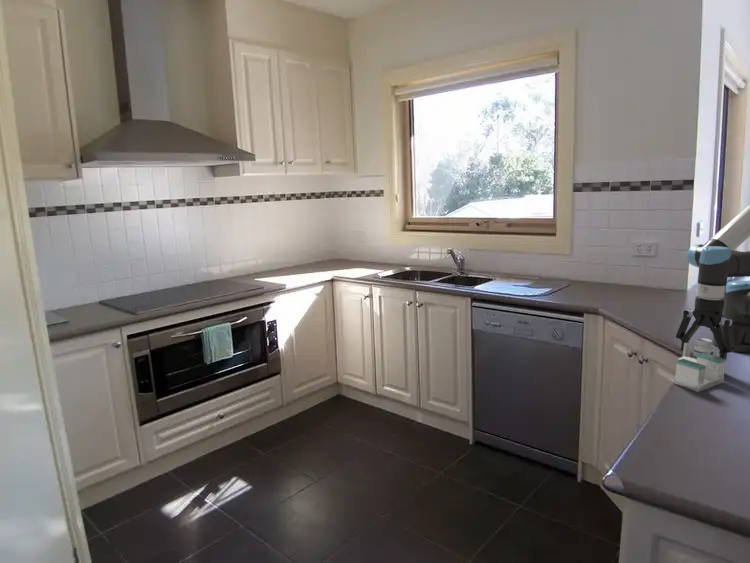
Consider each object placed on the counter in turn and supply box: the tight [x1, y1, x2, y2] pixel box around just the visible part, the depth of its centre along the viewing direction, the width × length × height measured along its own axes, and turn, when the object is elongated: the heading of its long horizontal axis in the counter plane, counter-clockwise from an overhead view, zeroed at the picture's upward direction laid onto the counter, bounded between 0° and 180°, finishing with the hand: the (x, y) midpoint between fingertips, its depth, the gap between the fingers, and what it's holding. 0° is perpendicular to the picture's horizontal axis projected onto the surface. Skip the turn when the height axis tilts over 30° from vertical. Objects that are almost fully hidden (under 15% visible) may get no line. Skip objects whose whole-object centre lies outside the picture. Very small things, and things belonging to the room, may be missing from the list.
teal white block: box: [673, 353, 727, 393], centre depth 152 cm, size 13×7×7 cm, turn 118°
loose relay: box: [677, 355, 697, 363], centre depth 160 cm, size 4×5×4 cm
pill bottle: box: [692, 337, 715, 359], centre depth 163 cm, size 5×5×9 cm
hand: (701, 366), depth 164 cm, fingers open, 9 cm apart
